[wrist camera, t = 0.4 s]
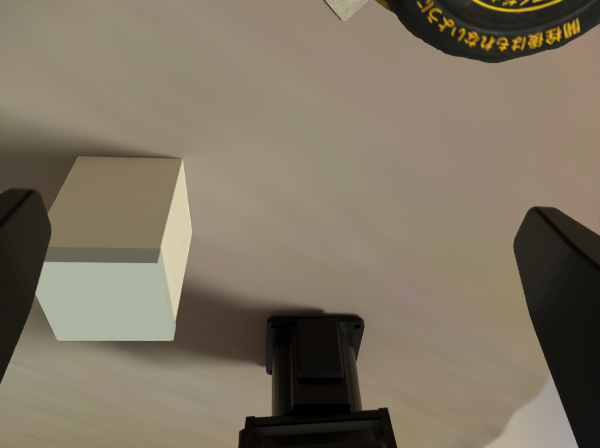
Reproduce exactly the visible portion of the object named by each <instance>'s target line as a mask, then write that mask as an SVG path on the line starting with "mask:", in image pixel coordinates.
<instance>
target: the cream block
mask: <svg viewBox="0 0 600 448" xmlns="http://www.w3.org/2000/svg"><path fill="white" fill-rule="evenodd" d="M48 217H49V220H50V223H51V230H52V232H51V238H50V242H49V246H48V249H47V253H46V257H45V260H44V264H43V268H42V271H41V275H40V279H39V282H38V286H37V290H36V296H37V298H38V300H39V303H40V305H41V307H42V309H43V311H44V313H45V315H46V317H47V319H48V322H49V324H50V326H51V328H52V330H53V332H54V334H55V336H56V339H57V341H173V339H174V334H175V328H176V324H175V321H176V316H177V311H178V305H179V300H180V295H181V289H182V284H183V279H184V273H185V268H186V263H187V257H188V252H189V247H190V241H191V236H192V229H191V221H190V213H189V205H188V197H187V190H186V182H185V174H184V166H183V159H174V158H132V157H90V156H78V157H77V159H76V161H75V163H74V165H73V167H72V169H71V171H70V173H69V174H68V176H67V178H66V180H65V182H64V184H63V186H62V188H61V190H60V191H59V193H58V195H57V197H56V199H55V201H54V203H53V205H52V207H51V209H50V210H49V212H48Z"/></svg>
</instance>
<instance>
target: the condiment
mask: <svg viewBox="0 0 600 448" xmlns="http://www.w3.org/2000/svg"><path fill="white" fill-rule="evenodd" d="M325 1H326V2H327V3H328V4H329V6H330V7H331V8H332V9H333V10H334V11H335V12H336V14H337V15H338V16H339V17H340V18H341V19H342V20H343V22H346V21H347V20H348V19H349V18H350V17H351V16H352V15H353V14H354V13H356V12H357V11H358V10H359V9H360V8H361V7H363V6H364V5H365V4H366V3H367V2H368V1H369V0H325ZM376 1H377V2H378V3H379V4H380V5H382V6H383V7H385V8H386V9H388V10H390V11H392V12H393V13H395V14H396V15H397V17H398V19H399V20H400V22H401V23H402V24H403V25H404V26H405V28H406V29H407V30H408V31H410V32H411V33H412V34H413V35H414V36H416V37H417V38H420V39H422V40H423V41H424V42H425V43H427V44H429V45H431V46H433V47H435V48H436V49H438V50H441V51H442V52H443V53H445V54H448V55H452V56H457V57H464V58H468V59H474V60H479V61H482V62H487V63H499V62H503V61H507V60H511V59H515V58H519V57H523V56H528V55H532V54H536V53H539V52H542V51H545V50H551V49H557V48H559V47H561V46H563V45H565V44H567V43H568V42H570V41H572V40H574V39H576V38H578V37H579V36H581V35H583V34H585V33H586V32H587V31H589V30H590V29H592V28H593V27H595V26H597V25H598V24H600V0H376Z"/></svg>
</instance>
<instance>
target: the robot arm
mask: <svg viewBox="0 0 600 448" xmlns="http://www.w3.org/2000/svg"><path fill="white" fill-rule="evenodd" d="M51 232H52V230H51V223H50V220H49V217H48V214H47V211H46V208H45V205H44V202H43V199H42V196H41V194H40V193H39V191H38V190H36V189H33V188H11V189H9V190H7V191H5V192H3V193H2V194H0V383H1V381H2V379H3V376H4V374H5V371H6V369H7V366H8V364H9V362H10V359H11V357H12V354H13V352H14V350H15V347H16V345H17V342H18V340H19V337H20V335H21V333H22V330H23V328H24V325H25V323H26V320H27V318H28V315H29V313H30V310H31V307H32V304H33V300H34V297H35V294H36V290H37V286H38V282H39V279H40V275H41V271H42V268H43V264H44V260H45V257H46V253H47V249H48V246H49V242H50V238H51ZM513 247H514V254H515V258H516V262H517V266H518V270H519V274H520V278H521V282H522V286H523V290H524V294H525V298H526V303H527V307H528V310H529V314H530V317H531V320H532V323H533V326H534V329H535V332H536V335H537V337H538V340H539V343H540V345H541V348H542V351H543V353H544V356H545V359H546V362H547V364H548V367H549V370H550V372H551V375H552V378H553V380H554V383H555V386H556V388H557V391H558V394H559V396H560V399H561V402H562V405H563V407H564V410H565V413H566V415H567V418H568V421H569V423H570V426H571V429H572V431H573V434H574V437H575V439H576V442H577V445H578V447H579V448H600V236H599V235H598V234H596V233H595V232H593V231H591V230H590V229H588V228H587V227H585V226H583V225H582V224H580V223H579V222H577V221H575V220H574V219H572V218H571V217H569V216H567V215H566V214H564V213H563V212H561V211H560V210H558V209H556V208H554V207H539V206H535V207H532V208H530V209H529V210H528V212H527V213H526V215H525V218H524V220H523V222H522V224H521V226H520V228H519V230H518V232H517V234H516V236H515V239H514V245H513ZM363 331H364V320H363V319H362V318H359V317H271V318H269V319H268V320H267V357H266V372H267V374H269V375H272V416H271V417H256V418H255V416H247V417H246V422H245V428H244V429H242V430H241V431H239V446H238V448H397V445H396V441H395V437H394V433H393V428H392V424H391V420H390V416H389V412H388V408H387V407H386V408H378V410H364V411H362V404H361V397H360V389H359V382H358V375H357V367H356V361H357V357H358V352H359V348H360V344H361V339H362V335H363Z"/></svg>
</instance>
